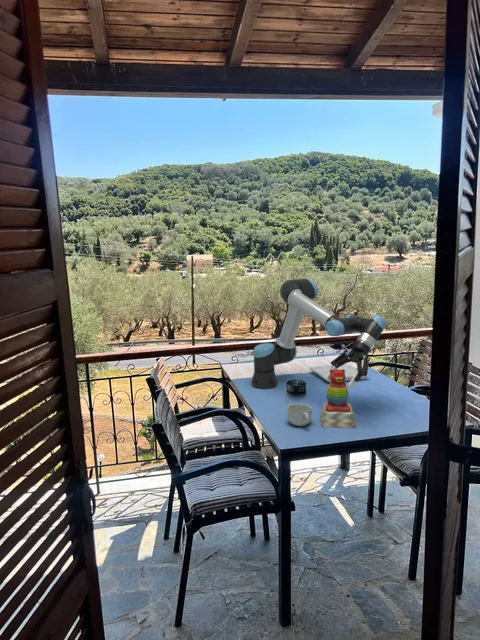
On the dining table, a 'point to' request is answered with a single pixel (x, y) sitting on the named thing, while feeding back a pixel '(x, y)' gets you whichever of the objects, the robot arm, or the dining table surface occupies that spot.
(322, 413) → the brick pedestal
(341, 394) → the stacking bear
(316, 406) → the dining table surface
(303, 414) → the teacup
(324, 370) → the square plate
